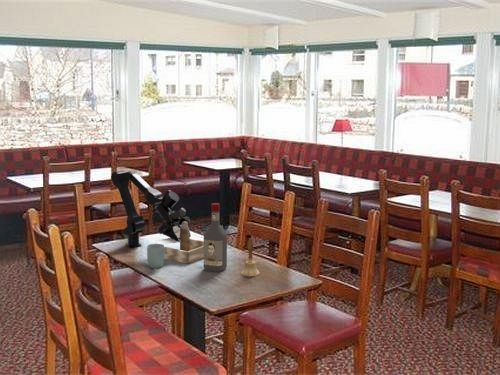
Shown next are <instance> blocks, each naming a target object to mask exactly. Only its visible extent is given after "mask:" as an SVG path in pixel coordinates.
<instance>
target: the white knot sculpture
mask: <svg viewBox="0 0 500 375" xmlns="http://www.w3.org/2000/svg"><path fill="white" fill-rule="evenodd" d="M173 231H174V233H175V234H176V236H177V237H178V239H180V228H179V227H178V226H175V227H173Z"/></svg>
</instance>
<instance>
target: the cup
mask: <svg viewBox="0 0 500 375" xmlns="http://www.w3.org/2000/svg"><path fill="white" fill-rule="evenodd" d="M164 247H165V245H164V244H162V243H151V244H148V245H147V247H146V259H147V265H148V267H150V269H154V270H155V269H160V268H162V267H163V266H164V264H165V259H164V257H165V248H164Z"/></svg>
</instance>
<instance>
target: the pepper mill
mask: <svg viewBox="0 0 500 375" xmlns="http://www.w3.org/2000/svg"><path fill="white" fill-rule="evenodd" d="M190 235H191V232H190V228H189V224H188V223H187V222H186V221H183V222H182V226H181V228H180V238H179V250H183V251H190V239H191V237H190Z"/></svg>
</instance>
